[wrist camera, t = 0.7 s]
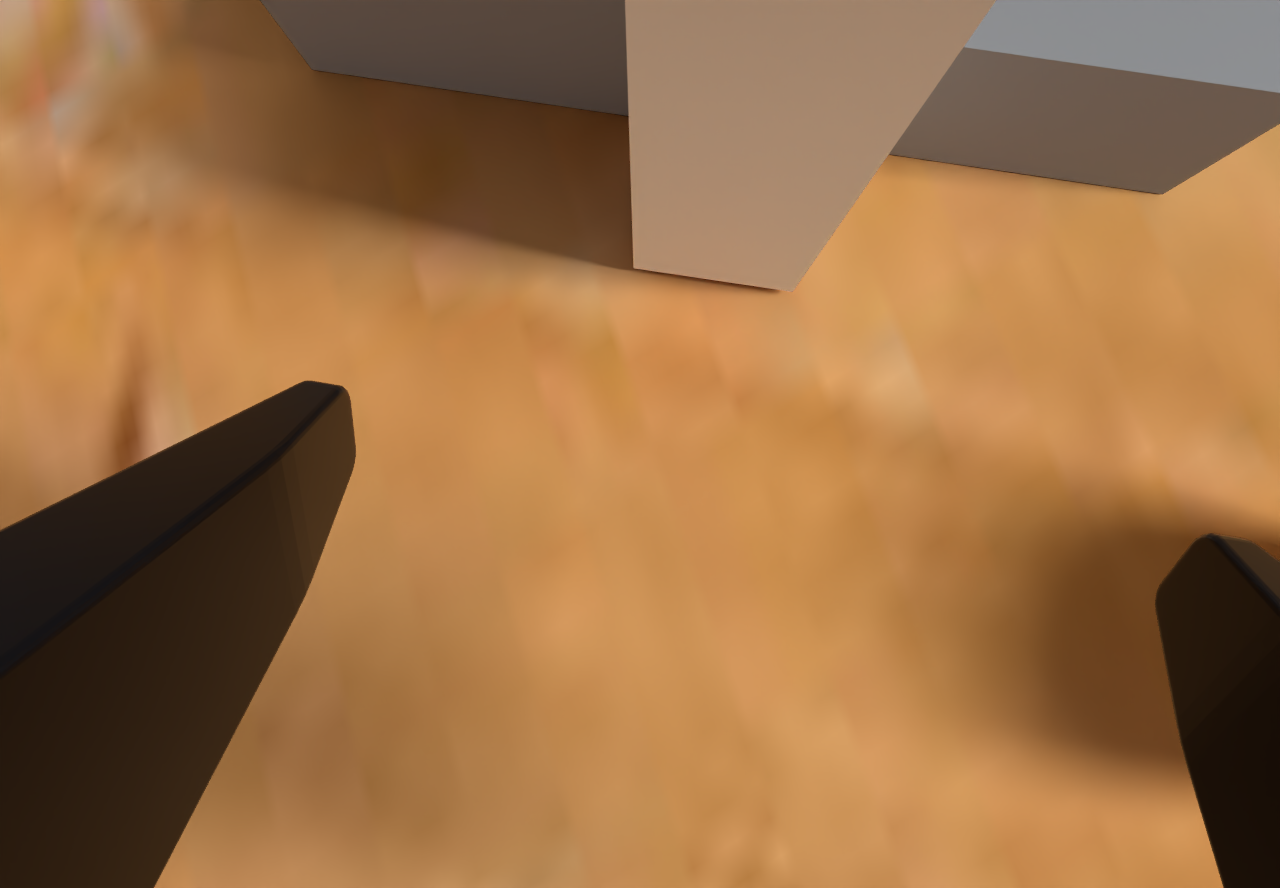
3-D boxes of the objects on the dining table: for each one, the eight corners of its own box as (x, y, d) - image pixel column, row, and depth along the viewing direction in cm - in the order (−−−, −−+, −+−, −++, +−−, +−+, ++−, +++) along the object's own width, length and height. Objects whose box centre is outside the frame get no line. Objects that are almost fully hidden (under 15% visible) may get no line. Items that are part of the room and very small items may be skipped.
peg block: (792, 291, 21) (1095, -144, 7) (633, 268, 21) (618, -211, 7) (819, 99, 21) (1159, -679, 7) (663, 76, 21) (704, -739, 7)
